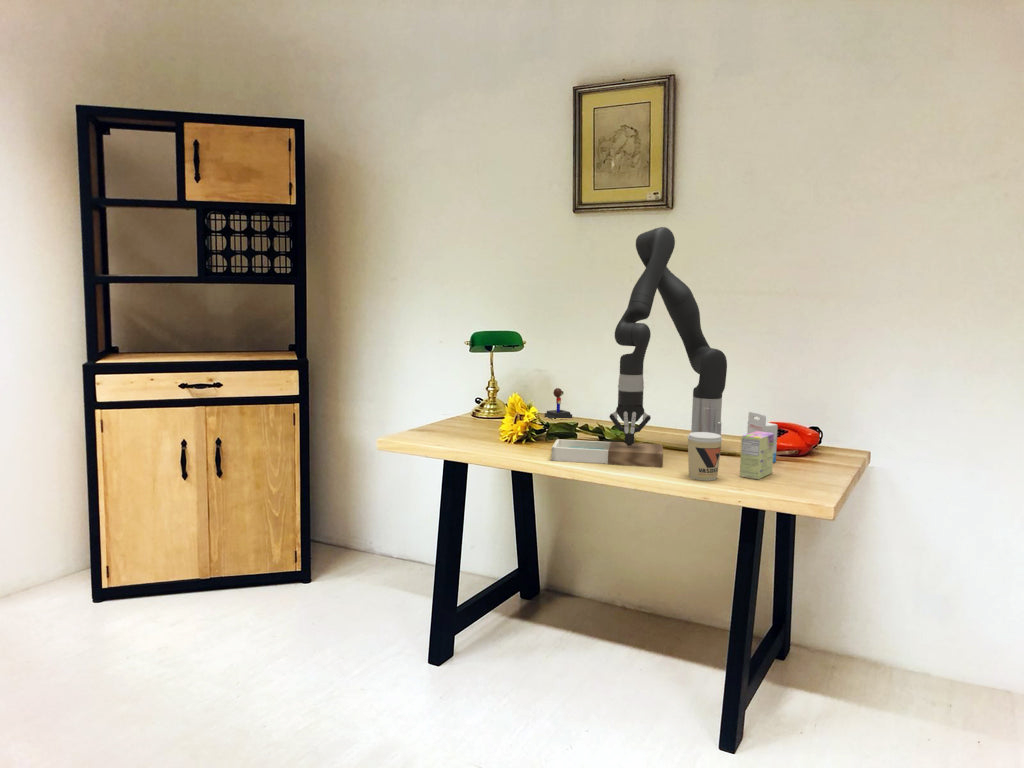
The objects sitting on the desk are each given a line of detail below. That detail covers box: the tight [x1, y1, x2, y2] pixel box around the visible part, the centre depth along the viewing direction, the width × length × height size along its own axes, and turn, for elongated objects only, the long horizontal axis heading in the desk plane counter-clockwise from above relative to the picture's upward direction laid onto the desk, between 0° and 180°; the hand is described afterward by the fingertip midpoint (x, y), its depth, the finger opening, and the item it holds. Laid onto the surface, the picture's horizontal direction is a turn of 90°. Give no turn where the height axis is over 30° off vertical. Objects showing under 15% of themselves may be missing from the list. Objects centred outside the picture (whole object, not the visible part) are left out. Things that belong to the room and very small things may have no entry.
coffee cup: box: [687, 432, 723, 481], centre depth 212 cm, size 9×9×12 cm
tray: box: [551, 438, 612, 465], centre depth 235 cm, size 17×13×4 cm
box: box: [739, 431, 774, 480], centre depth 216 cm, size 10×6×12 cm, turn 141°
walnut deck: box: [607, 441, 664, 468], centre depth 232 cm, size 16×14×4 cm
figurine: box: [544, 387, 573, 419], centre depth 304 cm, size 8×8×12 cm
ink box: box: [746, 411, 779, 463], centre depth 234 cm, size 9×5×15 cm, turn 21°
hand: (629, 445), depth 232 cm, fingers closed
